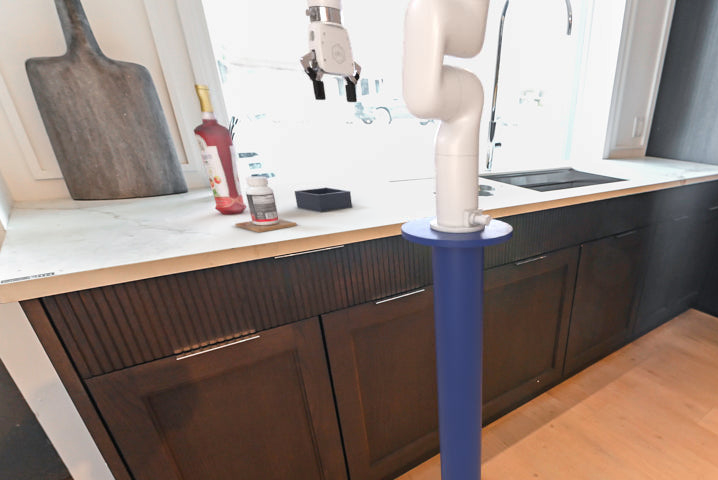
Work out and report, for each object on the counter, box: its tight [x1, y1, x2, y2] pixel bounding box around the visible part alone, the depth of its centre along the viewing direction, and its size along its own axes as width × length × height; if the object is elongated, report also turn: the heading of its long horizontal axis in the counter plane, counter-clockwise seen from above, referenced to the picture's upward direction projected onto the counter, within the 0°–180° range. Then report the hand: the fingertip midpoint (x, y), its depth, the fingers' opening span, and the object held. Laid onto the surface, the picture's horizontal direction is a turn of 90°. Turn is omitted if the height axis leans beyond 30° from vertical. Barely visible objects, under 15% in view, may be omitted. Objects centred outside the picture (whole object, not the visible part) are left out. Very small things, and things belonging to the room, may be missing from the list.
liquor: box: [193, 84, 248, 215], centre depth 101 cm, size 7×7×28 cm
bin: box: [294, 187, 353, 213], centre depth 117 cm, size 10×10×4 cm
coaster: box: [234, 218, 298, 233], centre depth 96 cm, size 9×9×1 cm
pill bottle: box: [245, 175, 280, 225], centre depth 93 cm, size 5×5×10 cm
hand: (336, 100), depth 109 cm, fingers open, 9 cm apart
